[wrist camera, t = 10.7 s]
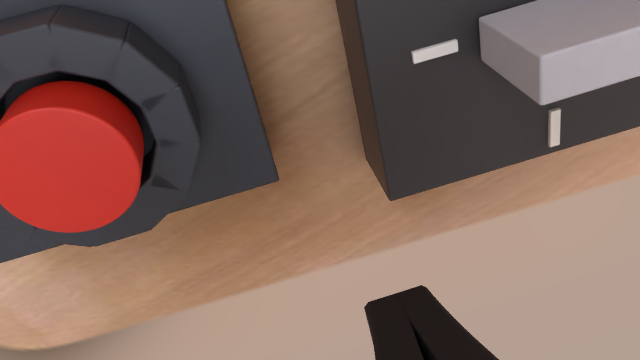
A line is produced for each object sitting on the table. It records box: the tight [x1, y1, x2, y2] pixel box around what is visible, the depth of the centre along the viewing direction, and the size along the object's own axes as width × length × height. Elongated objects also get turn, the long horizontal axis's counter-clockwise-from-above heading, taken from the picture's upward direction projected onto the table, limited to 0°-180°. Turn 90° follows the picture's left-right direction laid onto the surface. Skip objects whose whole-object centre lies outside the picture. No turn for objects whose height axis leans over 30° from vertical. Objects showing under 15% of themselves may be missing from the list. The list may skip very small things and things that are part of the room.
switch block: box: [0, 0, 279, 263], centre depth 17 cm, size 10×8×4 cm
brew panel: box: [336, 0, 640, 201], centre depth 18 cm, size 12×10×3 cm
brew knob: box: [479, 0, 640, 105], centre depth 16 cm, size 5×1×4 cm, turn 103°
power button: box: [0, 81, 144, 233], centre depth 15 cm, size 4×4×2 cm
